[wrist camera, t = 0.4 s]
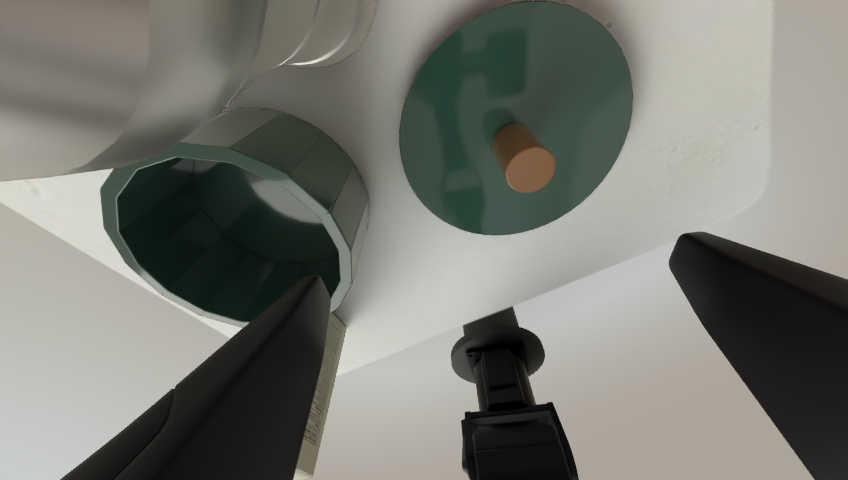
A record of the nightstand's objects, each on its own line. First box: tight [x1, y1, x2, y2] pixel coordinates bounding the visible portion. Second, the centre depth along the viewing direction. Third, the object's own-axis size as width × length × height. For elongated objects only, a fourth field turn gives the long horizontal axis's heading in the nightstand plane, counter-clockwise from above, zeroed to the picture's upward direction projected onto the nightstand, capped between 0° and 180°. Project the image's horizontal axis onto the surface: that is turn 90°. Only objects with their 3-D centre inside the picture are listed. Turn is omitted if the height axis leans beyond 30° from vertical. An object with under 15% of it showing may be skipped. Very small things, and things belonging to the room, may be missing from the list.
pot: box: [100, 108, 369, 328], centre depth 19 cm, size 12×12×6 cm
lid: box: [399, 0, 633, 235], centre depth 17 cm, size 13×13×5 cm
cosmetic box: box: [293, 312, 346, 480], centre depth 24 cm, size 6×4×12 cm
